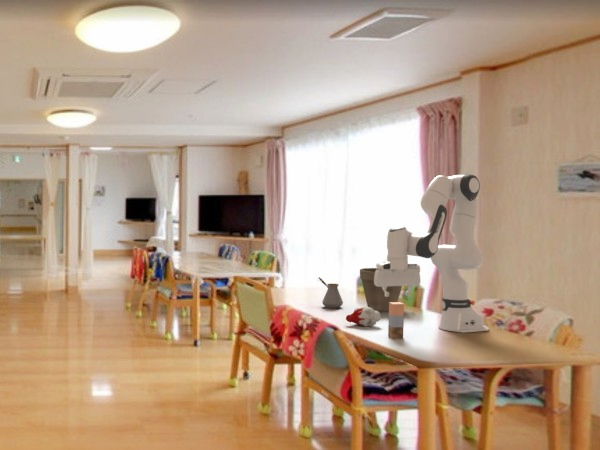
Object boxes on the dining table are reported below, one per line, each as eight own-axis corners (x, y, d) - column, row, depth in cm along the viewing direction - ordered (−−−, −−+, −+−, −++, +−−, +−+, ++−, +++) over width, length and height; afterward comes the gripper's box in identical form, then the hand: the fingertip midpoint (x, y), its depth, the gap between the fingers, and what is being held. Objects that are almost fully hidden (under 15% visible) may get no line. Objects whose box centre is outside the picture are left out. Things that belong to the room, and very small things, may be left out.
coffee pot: (346, 308, 341) (347, 281, 340) (329, 309, 335) (329, 282, 335) (326, 302, 360) (327, 276, 359) (309, 303, 354) (310, 277, 353)
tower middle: (399, 324, 272) (399, 313, 272) (403, 327, 267) (403, 315, 267) (388, 325, 271) (388, 313, 271) (392, 327, 266) (392, 315, 266)
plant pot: (403, 306, 350) (404, 268, 349) (406, 314, 326) (407, 273, 325) (359, 304, 353) (359, 266, 352) (359, 312, 328) (359, 271, 327)
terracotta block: (399, 313, 272) (399, 302, 271) (403, 315, 267) (404, 303, 266) (388, 313, 271) (389, 302, 270) (392, 315, 266) (392, 304, 266)
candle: (382, 325, 291) (352, 331, 287) (372, 321, 302) (343, 326, 298) (380, 307, 290) (350, 312, 286) (371, 303, 301) (342, 307, 297)
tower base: (399, 336, 272) (399, 324, 272) (403, 338, 267) (403, 327, 267) (388, 336, 271) (388, 325, 271) (392, 338, 266) (392, 327, 266)
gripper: (417, 262, 273) (417, 293, 274) (372, 264, 269) (372, 295, 270) (422, 264, 267) (422, 296, 268) (377, 265, 263) (377, 298, 264)
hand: (397, 296), depth 269 cm, fingers open, 8 cm apart
